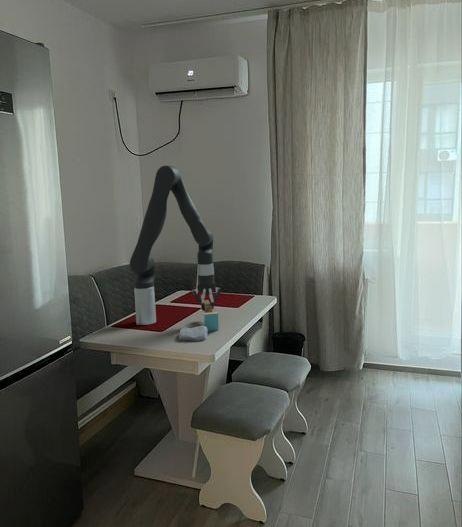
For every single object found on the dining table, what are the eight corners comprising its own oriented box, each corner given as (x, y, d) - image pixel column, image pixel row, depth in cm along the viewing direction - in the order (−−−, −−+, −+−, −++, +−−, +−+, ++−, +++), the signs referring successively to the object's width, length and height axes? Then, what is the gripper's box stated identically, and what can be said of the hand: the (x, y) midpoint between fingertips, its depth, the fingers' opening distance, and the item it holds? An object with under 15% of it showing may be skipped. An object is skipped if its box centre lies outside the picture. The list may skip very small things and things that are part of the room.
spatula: (205, 319, 199) (205, 311, 198) (200, 307, 216) (199, 300, 215) (216, 318, 199) (216, 310, 199) (210, 306, 217) (210, 299, 216)
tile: (204, 331, 198) (204, 314, 196) (204, 329, 200) (203, 312, 197) (218, 330, 199) (218, 313, 197) (217, 328, 201) (217, 311, 198)
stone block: (207, 345, 186) (208, 333, 195) (206, 334, 184) (207, 323, 194) (178, 347, 186) (180, 335, 196) (177, 336, 184) (179, 325, 194)
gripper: (191, 275, 202) (193, 313, 204) (222, 273, 204) (224, 310, 207) (189, 273, 209) (191, 309, 211) (219, 271, 212) (221, 307, 214)
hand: (207, 310), depth 209 cm, fingers closed on spatula, 3 cm apart
